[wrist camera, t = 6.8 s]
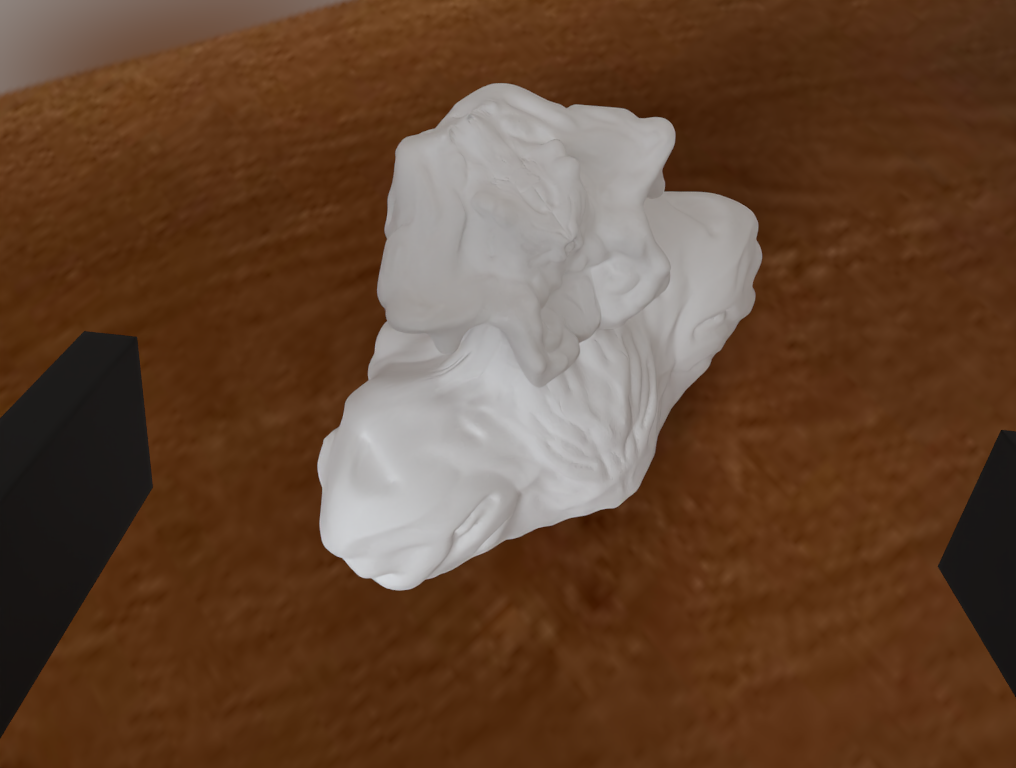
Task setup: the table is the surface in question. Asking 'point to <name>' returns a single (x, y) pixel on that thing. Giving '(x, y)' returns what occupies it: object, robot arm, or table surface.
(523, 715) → the table surface
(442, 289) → the bust
